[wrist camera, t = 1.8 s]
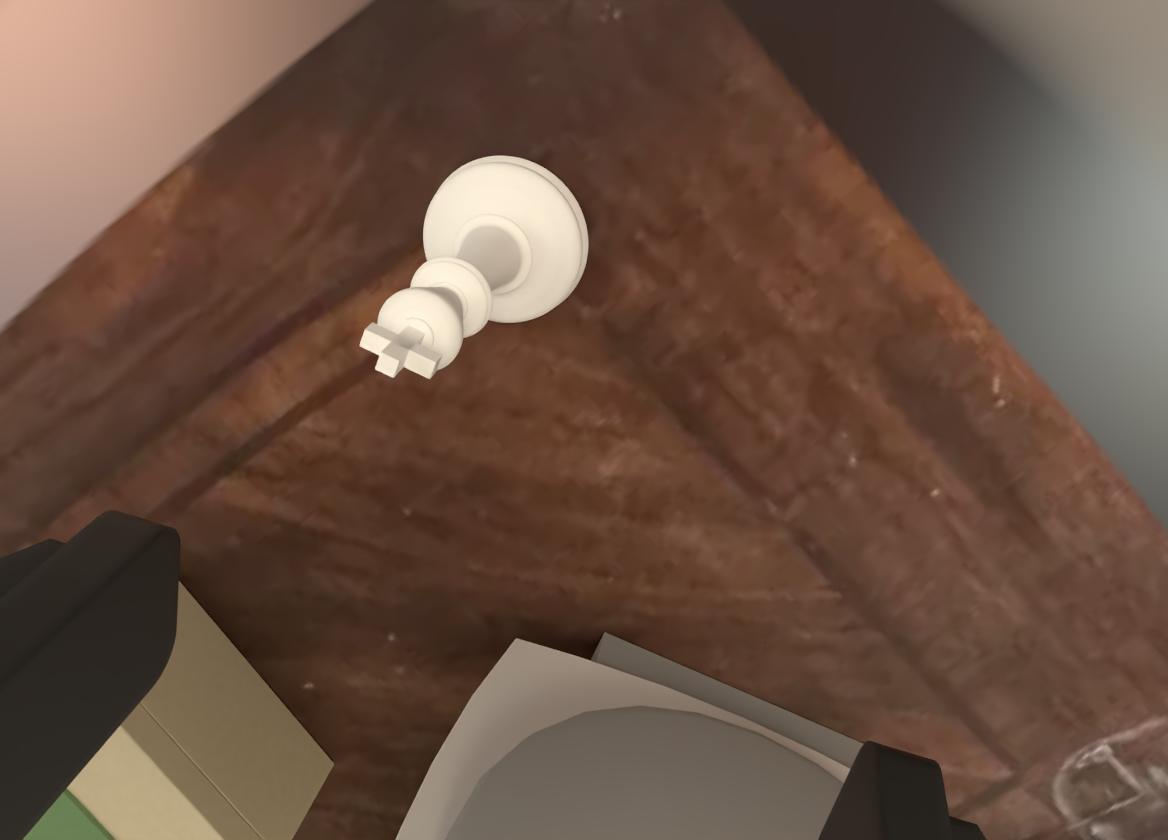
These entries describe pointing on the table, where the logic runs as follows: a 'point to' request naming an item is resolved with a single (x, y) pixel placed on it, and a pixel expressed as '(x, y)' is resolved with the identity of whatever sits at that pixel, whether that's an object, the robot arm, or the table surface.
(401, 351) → the chess piece
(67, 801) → the box with green top
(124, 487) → the table surface
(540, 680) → the alarm clock
